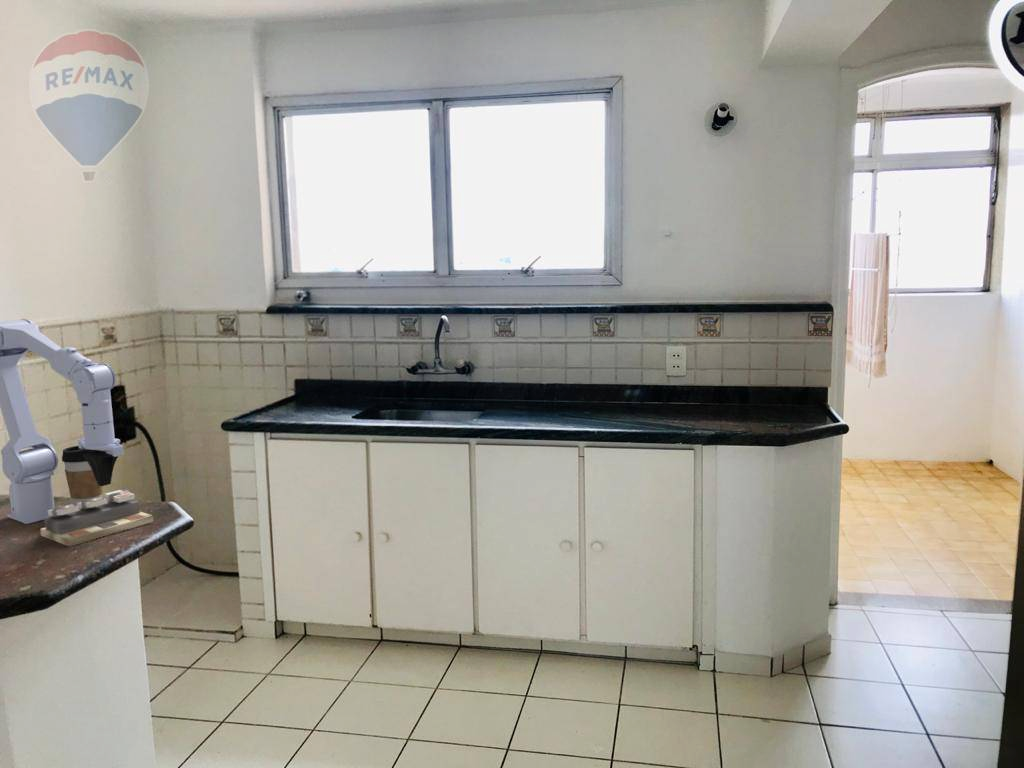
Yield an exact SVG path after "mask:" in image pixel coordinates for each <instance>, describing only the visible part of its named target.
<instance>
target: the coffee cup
mask: <svg viewBox="0 0 1024 768" xmlns="http://www.w3.org/2000/svg"><path fill="white" fill-rule="evenodd" d="M90 452H91V451H90V450H89V449H85V448H82V449H80V448H79V446H78V445H75V446H69V447H66V448H64V449H62V456H61V461H62V462H63V464H64V473H65V478H66V482H67V487H68V491H69V495H70V499H71V504H73V505H74V506H77V503H79V502H82V501H86V500H90V499H93V498H97V497H102V498H103V494H104V493H103V487H104V486H99V485H98V484H97V481H96V479H95V476H94V473H93V471H92V469H91V467H90V465H89V464H88V462H87V461H86V459H85V458H84V456H83V455H84V454H87V453H90ZM79 509H80V508H79Z"/></svg>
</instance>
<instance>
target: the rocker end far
mask: <svg viewBox="0 0 1024 768" xmlns="http://www.w3.org/2000/svg"><path fill="white" fill-rule="evenodd" d="M103 497H104V498H103V499H107V500H108V501H110V502H118V503H120V502H123V501H127V500H135V498H136V495H135V493H132V492H130V491H129V490H128V489H126V490H122V489H118V490H114V491H110V492H106V493H103Z"/></svg>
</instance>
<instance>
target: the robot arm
mask: <svg viewBox="0 0 1024 768" xmlns="http://www.w3.org/2000/svg"><path fill="white" fill-rule="evenodd" d="M29 351H30V352H32V353H34V354H35V355H37V356H39V357H41V358H43V359H45V360H46V361H49V364H50V368H51V369H52V370H53V371H54V372H55V373H57V374H59V375H60V376H61V377H63V378H65V379H66V380H68V381H70V382H71V386H72V388H73V390H74V391H75V393H76V397H77V398H76V399H77V401H78V402H79V403H80V409H81V419H82V429H83V438H78V439H77V442H78V443H77V446H79V448H80V449H82V448H85V449H89V450H90V451H91V452H90V453H87V454H84V455H83V456H84V458H85V459H86V461H87V462H88V464H89V465H90V467H91V469H92V471H93V473H94V476H95V479H96V481H97V484H98V485H99V486H103V487H104V486H105V487H106V486H108V485H111V484H112V478H113V471H114V467H115V464H116V462H117V460H118V457H119V456H124V455H125V450H124V445H121V444H120V443H121V439H119V438H115V437H116V436H115V428H114V416H113V408H112V407H113V406H112V395H111V390H112V389H113V388H114V387H115V385H116V379H117V378H116V375H115V372H114V369H112V367H111V366H110V365H108V364H107V363H105V362H103V363H102V362H101V363H97V362H96V363H95V362H93V360H92V359H90V358H87V357H85V356H84V355H82V354H81V353H79V352H77V348H75V347H72V346H71V347H68V346H66V347H60V346H59V345H58V344H57V343H55V342H54V341H52V339H50V338H49V337H47V336H46V335H45V334H43V333H42V332H41V331H40V329H39V326H38V324H37V323H34V322H33V321H32V320H30V319H28V318H22V319H16V320H5V321H0V412H1V415H2V418H3V421H4V424H5V428H6V431H7V434H8V437H9V440H8V441H7V442H6V444H5V445H4V446H3V447H2V448H1V449H0V454H1V458H2V459H1V460H2V461H1V462H2V463H1V466H2V467H1V468H2V469H1V470H2V472H3V474H4V476H5V477H6V478H7V479H8V480H9V481H10V484H9V488H8V495H9V500H10V501H9V503H10V511H11V513H9V514H7V518H9V519H12V520H14V521H18V522H20V523H23V524H25V525H29V524H32V523H36V522H40V521H45V519H44V518H45V517H49V516H53V515H48V510H52V509H54V508H56V507H55V500H54V498H55V497H54V492H53V491H54V490H53V483H52V476H54V475H55V474H54V472H55V470H56V469H57V468H58V465H59V456H58V453H57V452H56V450H55V449H54V447H53V446H52V443H51V441H50V438H48V437H47V436H45V435H42V434H41V433H39V432H37V428H36V424H35V422H34V418H33V414H32V413H31V409H30V405H29V401H28V398H27V395H26V391H25V389H24V385H23V383H22V378H21V375H20V372H19V369H18V363H19V362H20V359H22V358H24V357H25V356H26V355H27V354H28V353H29ZM27 448H29V449H27ZM23 449H25V450H23Z"/></svg>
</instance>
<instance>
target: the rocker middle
mask: <svg viewBox="0 0 1024 768" xmlns="http://www.w3.org/2000/svg"><path fill="white" fill-rule="evenodd" d="M108 501H109V500H108V499H105V498H103V496H102V497H97V498H93V499H90V500H86V501H82V502H79V503H77V506H79V508H83V509H84V510H85V509H88V508H92V507H96V506H100V505H103V504H107V503H108Z"/></svg>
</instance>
